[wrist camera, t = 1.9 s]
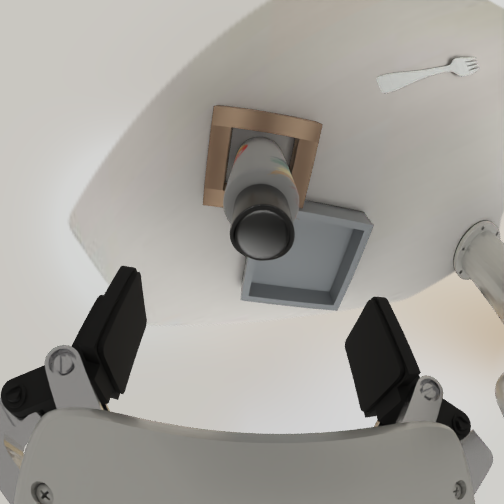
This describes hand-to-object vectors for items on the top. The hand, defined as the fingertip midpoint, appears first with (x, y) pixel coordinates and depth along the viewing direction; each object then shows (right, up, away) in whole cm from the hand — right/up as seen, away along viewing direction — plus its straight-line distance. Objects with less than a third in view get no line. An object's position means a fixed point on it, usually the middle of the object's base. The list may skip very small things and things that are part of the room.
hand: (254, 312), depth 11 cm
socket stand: (+1, +14, +22) cm, 26 cm away
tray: (+7, +3, +29) cm, 30 cm away
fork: (+25, +27, +14) cm, 39 cm away
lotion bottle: (+1, +14, +22) cm, 26 cm away
